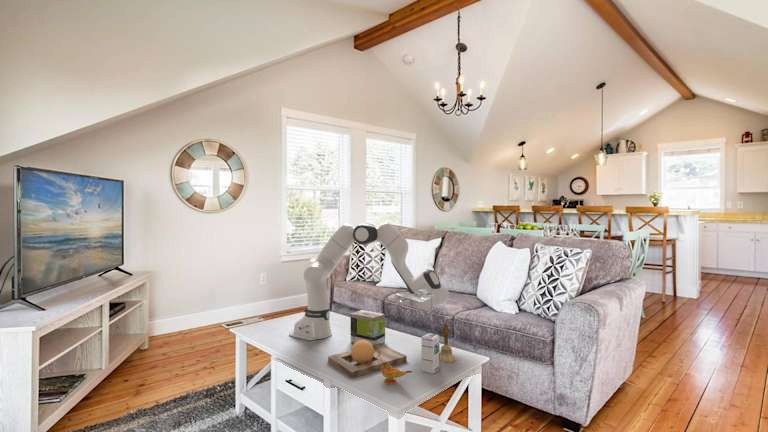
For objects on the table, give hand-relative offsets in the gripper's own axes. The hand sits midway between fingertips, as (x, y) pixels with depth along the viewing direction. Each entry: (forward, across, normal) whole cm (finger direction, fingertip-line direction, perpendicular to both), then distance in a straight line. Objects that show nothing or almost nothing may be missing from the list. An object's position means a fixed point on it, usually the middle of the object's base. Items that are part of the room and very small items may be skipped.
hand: (399, 302), depth 182 cm
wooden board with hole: (+17, 0, +24) cm, 29 cm away
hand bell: (-13, +18, +24) cm, 32 cm away
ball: (+20, 0, +19) cm, 27 cm away
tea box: (+3, -21, +24) cm, 32 cm away
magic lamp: (+20, +22, +24) cm, 39 cm away
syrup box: (+1, +22, +24) cm, 32 cm away
